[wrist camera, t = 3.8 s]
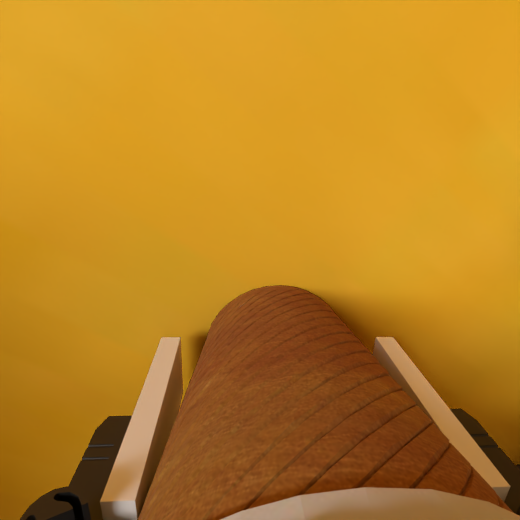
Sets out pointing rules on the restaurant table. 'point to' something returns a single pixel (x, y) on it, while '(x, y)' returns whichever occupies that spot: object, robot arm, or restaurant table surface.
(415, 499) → the disposable coffee cup
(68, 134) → the restaurant table surface
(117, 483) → the robot arm
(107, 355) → the restaurant table surface
